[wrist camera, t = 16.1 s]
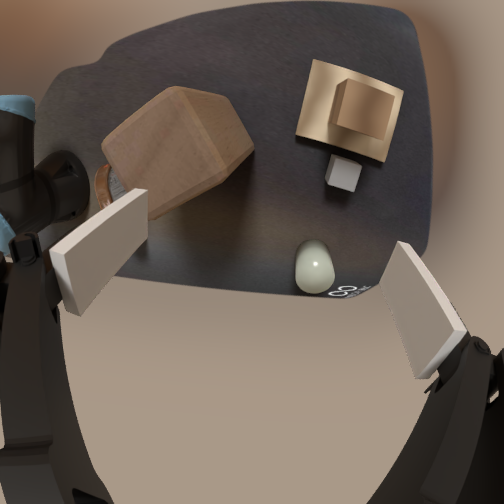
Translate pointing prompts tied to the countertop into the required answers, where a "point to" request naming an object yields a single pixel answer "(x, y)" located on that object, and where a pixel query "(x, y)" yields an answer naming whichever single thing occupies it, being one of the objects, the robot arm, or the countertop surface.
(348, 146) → the board
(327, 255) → the pale green rounded cylinder
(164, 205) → the block
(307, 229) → the countertop surface
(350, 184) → the slate cube
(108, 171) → the tin
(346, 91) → the walnut block
